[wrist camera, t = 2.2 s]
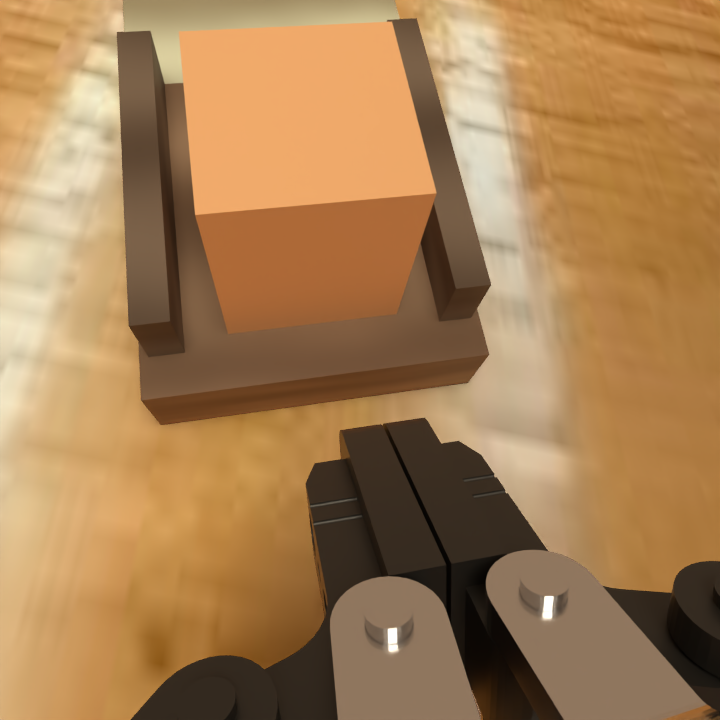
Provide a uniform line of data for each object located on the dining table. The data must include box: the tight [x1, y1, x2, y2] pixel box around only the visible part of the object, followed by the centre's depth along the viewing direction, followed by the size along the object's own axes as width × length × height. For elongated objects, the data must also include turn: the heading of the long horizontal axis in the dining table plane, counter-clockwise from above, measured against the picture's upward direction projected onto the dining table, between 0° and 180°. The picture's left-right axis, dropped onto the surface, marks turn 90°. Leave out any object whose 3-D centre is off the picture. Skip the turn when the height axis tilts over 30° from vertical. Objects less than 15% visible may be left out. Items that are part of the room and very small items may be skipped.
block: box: [179, 22, 437, 334], centre depth 19 cm, size 6×6×7 cm
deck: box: [117, 0, 491, 425], centre depth 26 cm, size 32×12×6 cm, turn 10°
